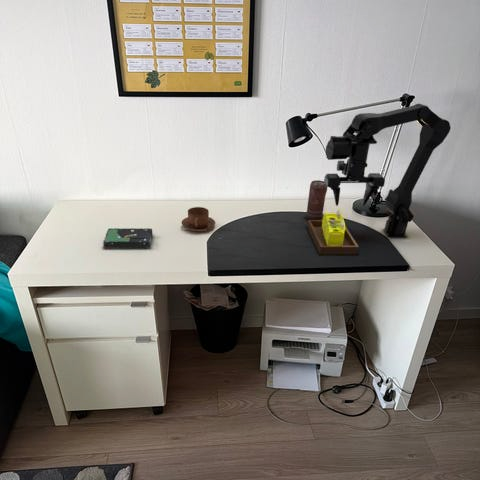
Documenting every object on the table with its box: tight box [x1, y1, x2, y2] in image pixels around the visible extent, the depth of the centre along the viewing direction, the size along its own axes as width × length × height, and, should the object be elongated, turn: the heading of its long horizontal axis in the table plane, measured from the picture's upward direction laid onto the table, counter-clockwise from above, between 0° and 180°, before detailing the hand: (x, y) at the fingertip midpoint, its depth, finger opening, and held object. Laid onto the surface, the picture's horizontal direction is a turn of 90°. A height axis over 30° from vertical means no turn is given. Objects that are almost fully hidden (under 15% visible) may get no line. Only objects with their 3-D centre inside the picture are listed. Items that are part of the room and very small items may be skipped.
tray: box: [306, 219, 360, 256], centre depth 152 cm, size 13×22×3 cm, turn 4°
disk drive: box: [103, 227, 154, 249], centre depth 145 cm, size 10×3×15 cm
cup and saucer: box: [181, 206, 216, 232], centre depth 156 cm, size 12×12×6 cm
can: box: [305, 179, 328, 221], centre depth 163 cm, size 6×6×14 cm
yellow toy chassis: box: [321, 208, 346, 246], centre depth 150 cm, size 16×6×8 cm, turn 178°
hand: (350, 205), depth 148 cm, fingers open, 9 cm apart
